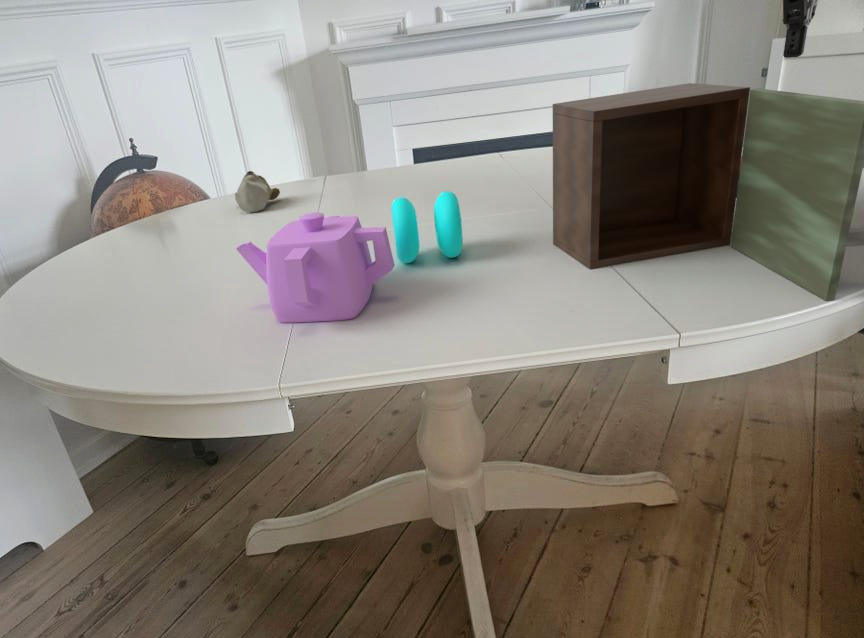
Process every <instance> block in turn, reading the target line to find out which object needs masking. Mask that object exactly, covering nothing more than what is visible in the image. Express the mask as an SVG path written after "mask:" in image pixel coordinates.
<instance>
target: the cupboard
mask: <svg viewBox="0 0 864 638" xmlns="http://www.w3.org/2000/svg"><path fill="white" fill-rule="evenodd" d="M750 90H751V87H750V86H737V85H736V86H735V85H723V84H722V85H720V84H705V83H692V82H689V83H688V82H687V83H682V84H675V85H668V86H662V87H656V88H650V89H643V90H636V91H629V92H628V91H627V92H622V93H616V94H610V95H603V96H597V97H590V98H584V99H577V100H570V101H564V102H557V103H556V102H555V103H552V245H553V246H555V247H556V248H557V249H559V250H560V251H562V252H563V253H565V254H567V255H568V256H569V257H571V258H572V259H573V260H575V261H577V262H578V263H579V264H581V265H583V267H585V268H587V270H591V271H592V270H595V269H603V268H607V267H613V266H619V265H624V264H630V263H636V262H640V261H641V262H642V261H646V260H647V261H648V260H654V259H657V258H659V259H660V258H665V257H670V256H671V257H672V256H675V255H677V256H678V255H682V254H689V253H693V252H698V251H699V252H700V251H705V250H710V249H716V248H722V247H728V246H731V239H732V231H733V223H734V215H735V207H736V199H737V198H736V195H737V187H738V179H739V172H740V164H741V156H742V152H743V145H744V137H745V129H746V121H747V113H748V105H749V98H750Z"/></svg>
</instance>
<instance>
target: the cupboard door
mask: <svg viewBox="0 0 864 638" xmlns="http://www.w3.org/2000/svg"><path fill="white" fill-rule="evenodd" d="M863 170H864V100H858V99H849V98H843V97H834V96H826V95H817V94H809V93H808V94H807V93H800V92H792V91H791V92H790V91H785V90H783V91H782V90H775V89H767V88H766V89H765V88H750V93H749V101H748V109H747V117H746V124H745V132H744V140H743V148H742V160H741V168H740V176H739V184H738V192H737V198H736V203H735V211H734V219H733V227H732V234H731V242H730V248H732V249H734V250H736V251H737V252H739V253H741V254H743V255H744V256H746V257H748V258H750V259H752V260H753V261H755V262H757V263H758V264H760V265H762V266H764V267H766V268H767V269H769V270H771V271H773V272H774V273H776V274H778V275H779V276H781V277H783V278H785V279H787V280H788V281H789V282H792V283H793V284H795V285H796V286H798V287H800V288H803V289H804V290H806V291H808V292H809V293H812V294H813V295H815V296H816V297H818V298H820V299H822V300H824V301H825V302H827V301H828V302H829V301H836V296H837V292H838V291H837V290H838V286H839V282H840V277H841V272H842V268H843V263H844V258H845V253H846V249H847V248H852V247H859V246H864V225H863V226H854V227H853V226H852V220H853V215H854V211H855V206H856V202H857V197H858V193H859V188H860V183H861V178H862V174H863ZM851 226H852V227H851Z"/></svg>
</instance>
